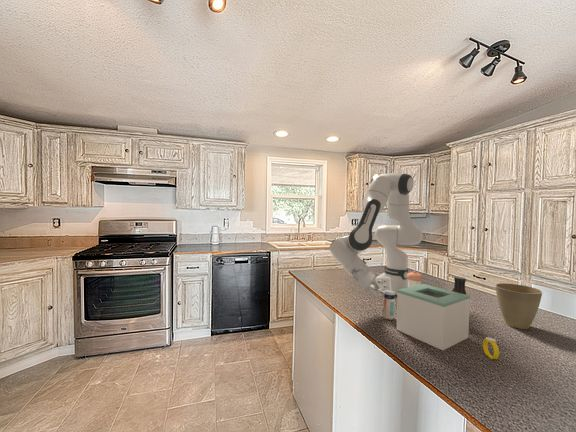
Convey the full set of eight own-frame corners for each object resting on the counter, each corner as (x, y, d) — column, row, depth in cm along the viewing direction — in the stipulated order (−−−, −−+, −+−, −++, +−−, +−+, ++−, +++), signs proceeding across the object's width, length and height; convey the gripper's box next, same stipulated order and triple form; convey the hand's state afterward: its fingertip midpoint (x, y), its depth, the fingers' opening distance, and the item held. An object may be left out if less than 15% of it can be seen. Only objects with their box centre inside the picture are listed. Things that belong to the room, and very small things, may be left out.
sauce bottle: (458, 328, 106) (459, 280, 106) (445, 322, 112) (446, 276, 112) (470, 326, 108) (472, 279, 108) (457, 320, 114) (458, 275, 114)
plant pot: (507, 316, 120) (508, 281, 119) (549, 330, 106) (550, 291, 105) (485, 320, 114) (487, 284, 114) (527, 336, 100) (528, 295, 100)
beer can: (385, 314, 119) (385, 288, 119) (395, 317, 116) (396, 290, 116) (381, 318, 115) (382, 291, 115) (392, 321, 112) (393, 293, 112)
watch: (480, 352, 89) (480, 334, 89) (489, 353, 89) (489, 335, 89) (492, 361, 83) (491, 342, 83) (501, 362, 83) (501, 343, 83)
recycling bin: (396, 329, 105) (397, 289, 104) (422, 320, 114) (423, 283, 114) (442, 350, 89) (444, 304, 89) (468, 337, 99) (469, 295, 98)
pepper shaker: (424, 315, 120) (425, 273, 119) (407, 313, 121) (408, 272, 121) (419, 309, 127) (420, 269, 126) (403, 307, 128) (404, 269, 128)
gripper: (355, 267, 112) (378, 294, 108) (365, 259, 130) (385, 282, 126) (345, 276, 114) (367, 302, 110) (355, 267, 132) (375, 290, 128)
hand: (377, 291), depth 118 cm, fingers open, 8 cm apart
